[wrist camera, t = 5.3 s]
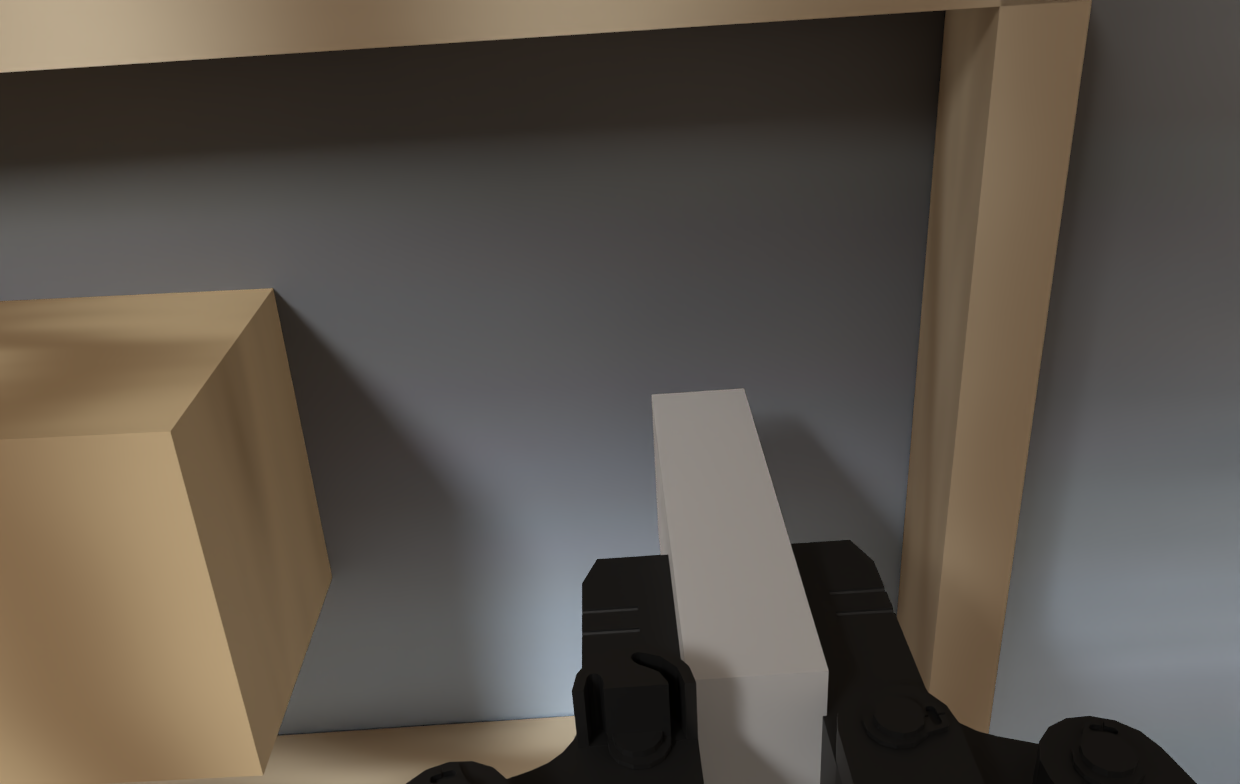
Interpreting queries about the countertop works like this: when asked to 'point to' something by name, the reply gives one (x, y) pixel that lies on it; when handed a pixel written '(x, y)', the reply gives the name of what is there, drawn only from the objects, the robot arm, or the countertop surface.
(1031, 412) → the wooden l-shaped bracket
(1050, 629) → the countertop surface
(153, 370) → the oak block
